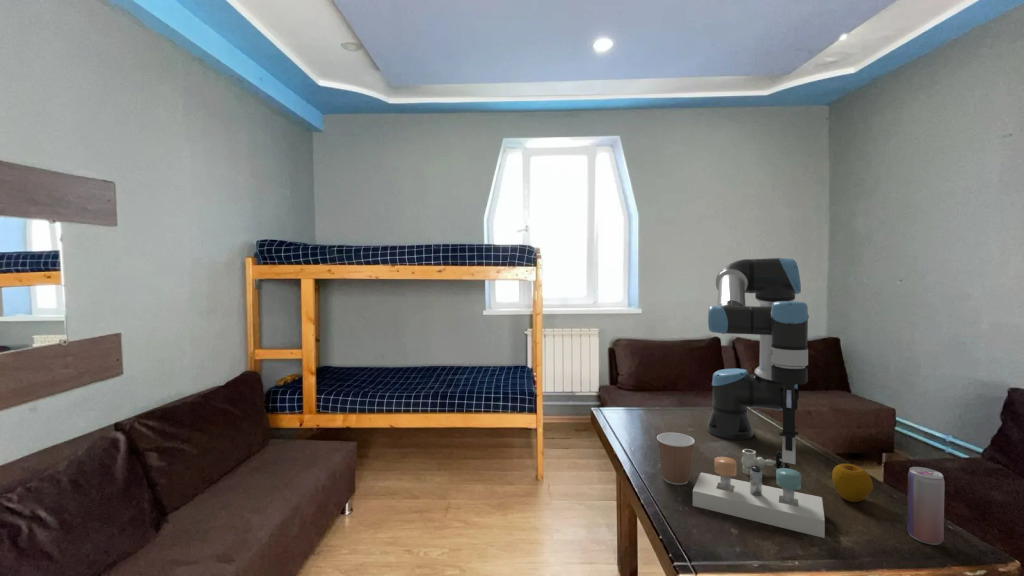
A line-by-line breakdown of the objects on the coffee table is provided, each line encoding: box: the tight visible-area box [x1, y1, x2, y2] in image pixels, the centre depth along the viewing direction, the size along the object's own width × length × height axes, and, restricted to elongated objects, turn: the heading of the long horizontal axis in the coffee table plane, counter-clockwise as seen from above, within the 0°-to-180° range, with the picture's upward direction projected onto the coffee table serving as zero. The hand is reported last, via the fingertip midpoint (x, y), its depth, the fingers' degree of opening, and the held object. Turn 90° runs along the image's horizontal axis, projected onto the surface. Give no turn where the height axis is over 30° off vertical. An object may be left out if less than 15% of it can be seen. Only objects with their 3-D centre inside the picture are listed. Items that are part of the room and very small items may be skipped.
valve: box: [741, 448, 791, 476], centre depth 134 cm, size 7×7×12 cm
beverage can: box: [906, 466, 945, 546], centre depth 101 cm, size 6×6×15 cm
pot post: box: [749, 466, 763, 496], centre depth 114 cm, size 3×3×7 cm
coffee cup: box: [656, 432, 696, 486], centre depth 131 cm, size 10×10×12 cm
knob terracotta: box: [714, 456, 738, 490], centre depth 118 cm, size 5×5×7 cm
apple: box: [831, 463, 874, 503], centre depth 118 cm, size 8×8×9 cm
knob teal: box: [775, 467, 802, 503], centre depth 110 cm, size 5×5×7 cm
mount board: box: [692, 472, 826, 539], centre depth 114 cm, size 12×28×4 cm, turn 58°
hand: (788, 461), depth 110 cm, fingers closed
